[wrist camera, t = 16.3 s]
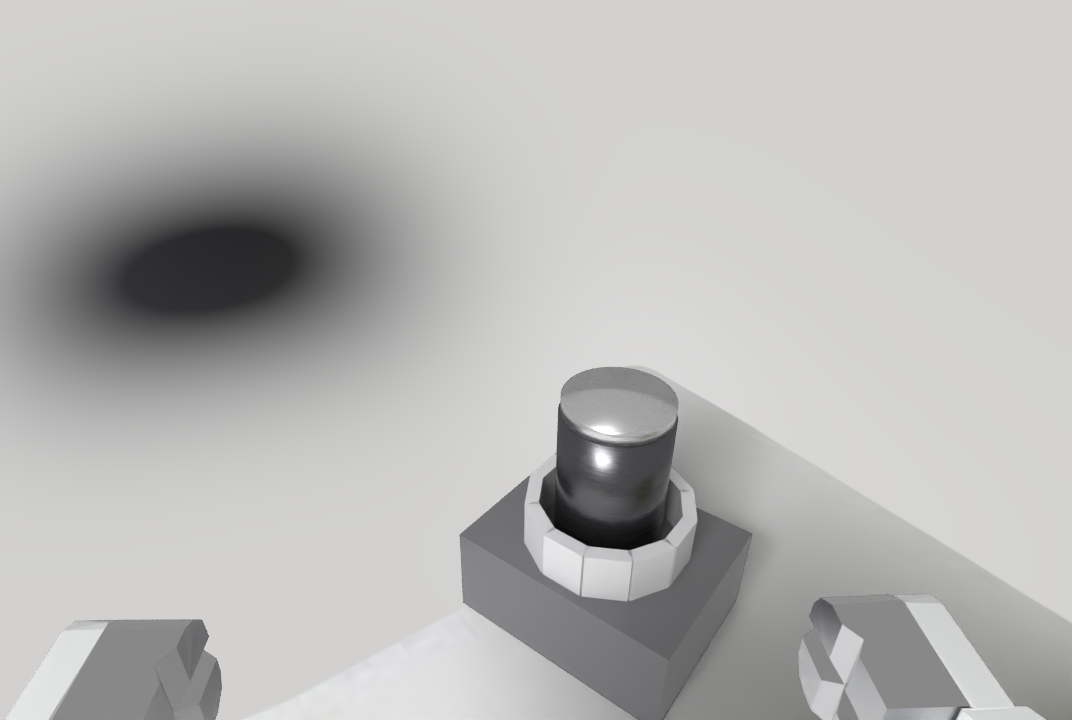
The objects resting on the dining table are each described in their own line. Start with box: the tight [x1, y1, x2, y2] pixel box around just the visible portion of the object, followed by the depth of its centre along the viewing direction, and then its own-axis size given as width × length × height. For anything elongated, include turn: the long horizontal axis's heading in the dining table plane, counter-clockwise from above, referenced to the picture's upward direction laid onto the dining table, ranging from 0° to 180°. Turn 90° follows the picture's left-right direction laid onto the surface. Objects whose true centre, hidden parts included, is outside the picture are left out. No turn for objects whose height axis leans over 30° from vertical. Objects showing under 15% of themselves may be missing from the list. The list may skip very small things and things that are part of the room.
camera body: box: [460, 453, 752, 720], centre depth 42 cm, size 14×11×9 cm
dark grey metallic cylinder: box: [554, 367, 678, 551], centre depth 39 cm, size 6×6×10 cm
